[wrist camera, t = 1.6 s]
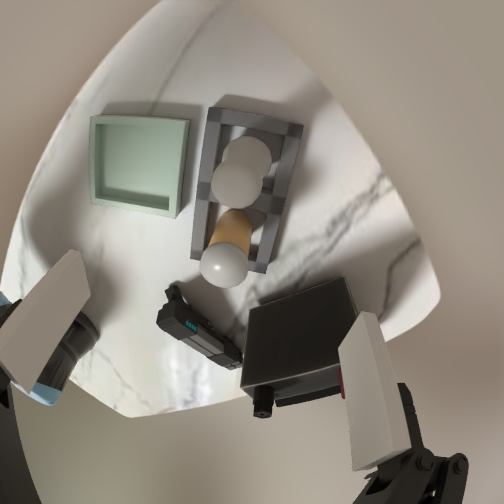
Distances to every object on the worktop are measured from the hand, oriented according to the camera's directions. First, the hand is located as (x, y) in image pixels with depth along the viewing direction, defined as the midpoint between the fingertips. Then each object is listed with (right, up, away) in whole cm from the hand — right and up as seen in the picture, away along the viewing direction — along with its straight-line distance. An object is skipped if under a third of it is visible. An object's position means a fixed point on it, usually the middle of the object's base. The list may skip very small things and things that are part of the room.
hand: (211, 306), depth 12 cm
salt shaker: (+1, +14, +21) cm, 25 cm away
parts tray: (-14, +15, +22) cm, 30 cm away
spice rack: (0, +10, +23) cm, 25 cm away
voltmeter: (+12, -10, +35) cm, 38 cm away
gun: (-6, -11, +37) cm, 39 cm away
